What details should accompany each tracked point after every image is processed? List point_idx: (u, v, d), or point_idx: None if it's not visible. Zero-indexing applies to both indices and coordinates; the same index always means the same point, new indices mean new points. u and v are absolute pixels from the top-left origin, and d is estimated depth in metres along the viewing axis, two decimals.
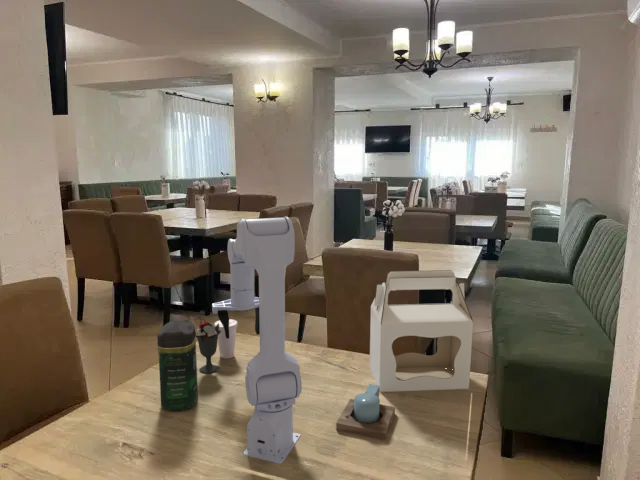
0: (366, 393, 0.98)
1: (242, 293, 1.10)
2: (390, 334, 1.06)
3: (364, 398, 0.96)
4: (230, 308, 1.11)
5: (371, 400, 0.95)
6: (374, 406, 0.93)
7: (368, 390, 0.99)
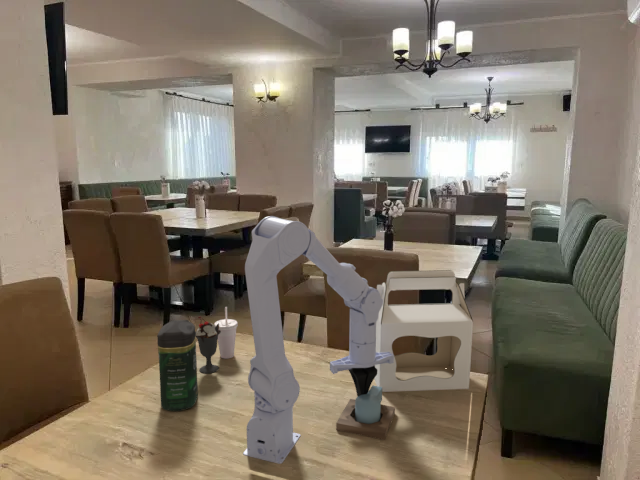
0: (368, 394, 0.98)
1: (366, 347, 0.97)
2: (390, 334, 1.06)
3: (365, 399, 0.96)
4: (352, 366, 0.97)
5: (372, 401, 0.95)
6: (374, 407, 0.93)
7: (370, 391, 0.99)
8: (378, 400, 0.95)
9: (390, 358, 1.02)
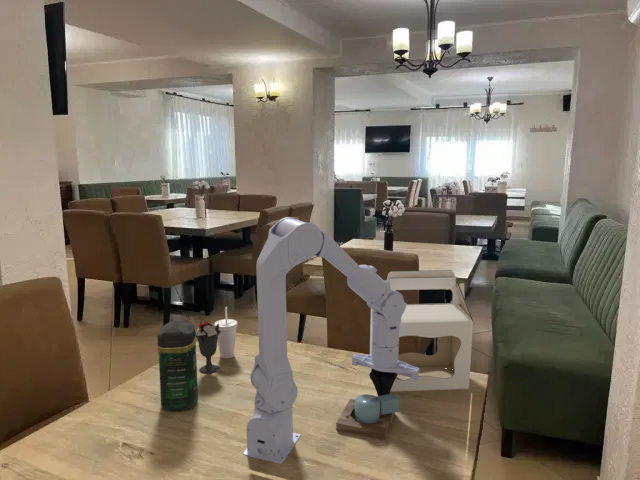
0: (376, 397, 0.96)
1: (377, 350, 0.96)
2: None
3: (367, 399, 0.96)
4: (366, 364, 0.98)
5: (369, 403, 0.94)
6: (363, 407, 0.93)
7: (382, 396, 0.97)
8: (375, 404, 0.94)
9: (411, 373, 0.95)
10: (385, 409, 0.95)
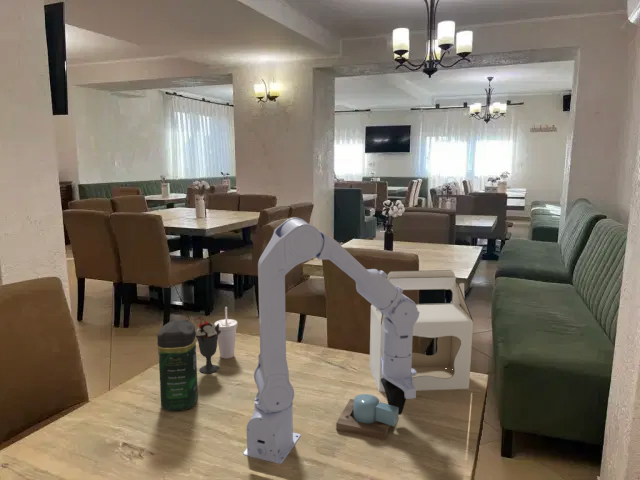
0: (378, 402, 0.95)
1: (383, 355, 0.93)
2: None
3: (368, 399, 0.96)
4: None
5: (363, 402, 0.94)
6: (354, 403, 0.94)
7: (384, 404, 0.94)
8: (366, 406, 0.93)
9: (403, 390, 0.88)
10: (379, 417, 0.93)
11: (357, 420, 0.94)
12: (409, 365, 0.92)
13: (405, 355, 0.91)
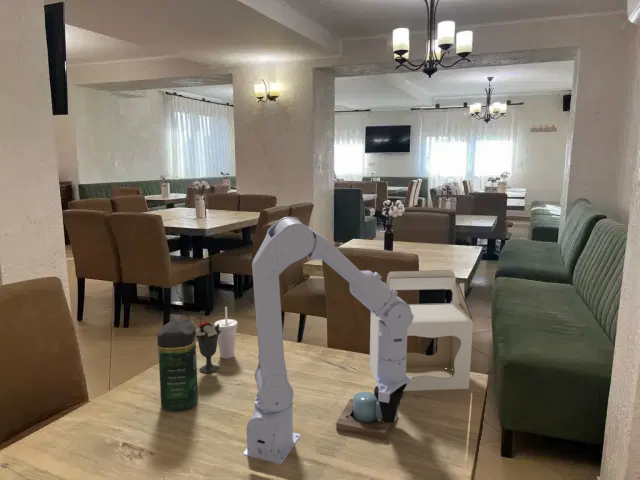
0: None
1: None
2: None
3: (367, 397, 0.97)
4: None
5: (363, 400, 0.95)
6: (354, 401, 0.95)
7: None
8: (367, 403, 0.94)
9: (379, 392, 0.87)
10: (380, 413, 0.94)
11: (358, 418, 0.95)
12: (397, 371, 0.90)
13: (399, 359, 0.89)
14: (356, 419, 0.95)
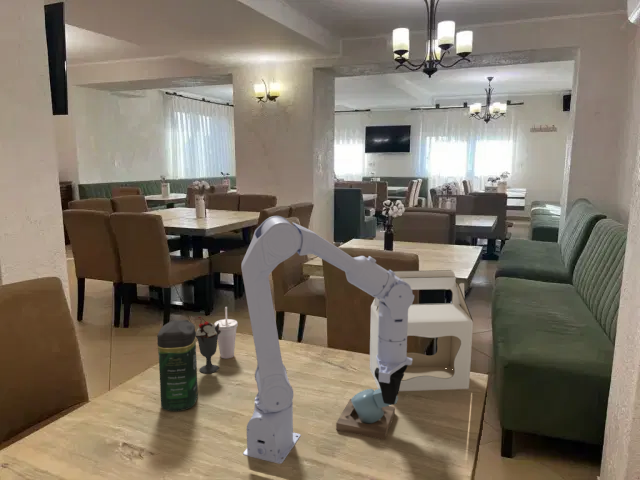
0: (373, 391, 0.96)
1: None
2: None
3: (364, 394, 0.96)
4: None
5: (360, 397, 0.95)
6: (353, 403, 0.95)
7: (379, 389, 0.95)
8: (364, 398, 0.94)
9: None
10: (380, 402, 0.93)
11: (363, 417, 0.94)
12: (398, 351, 0.89)
13: (399, 339, 0.89)
14: (362, 419, 0.94)
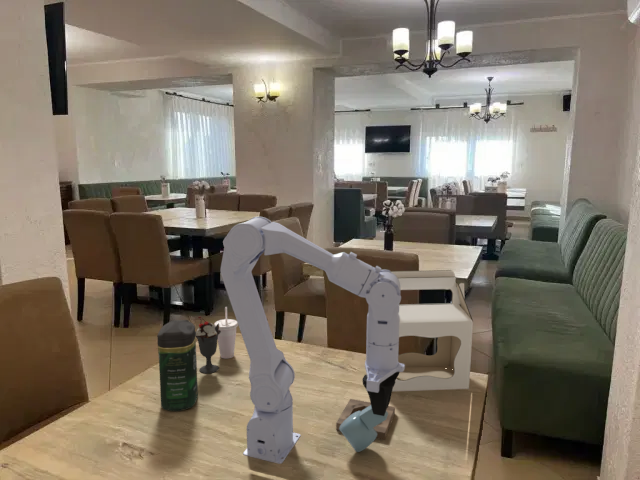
0: (360, 412, 0.87)
1: None
2: None
3: (351, 417, 0.87)
4: None
5: (348, 422, 0.86)
6: (341, 430, 0.85)
7: (365, 408, 0.86)
8: (351, 422, 0.85)
9: None
10: (369, 422, 0.84)
11: (355, 444, 0.84)
12: (388, 357, 0.80)
13: (384, 344, 0.79)
14: (355, 446, 0.85)
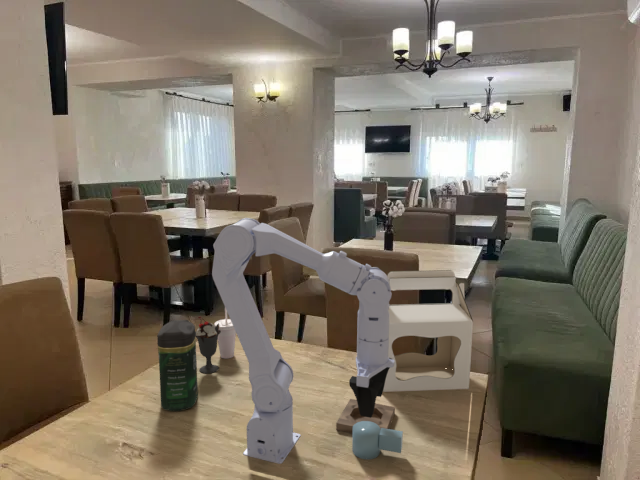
0: (379, 428, 0.86)
1: None
2: (390, 334, 1.06)
3: (368, 427, 0.87)
4: None
5: (365, 431, 0.85)
6: (355, 434, 0.85)
7: (386, 430, 0.86)
8: (369, 435, 0.84)
9: None
10: (384, 445, 0.85)
11: (359, 452, 0.85)
12: (378, 353, 0.81)
13: (375, 340, 0.81)
14: (357, 454, 0.85)
